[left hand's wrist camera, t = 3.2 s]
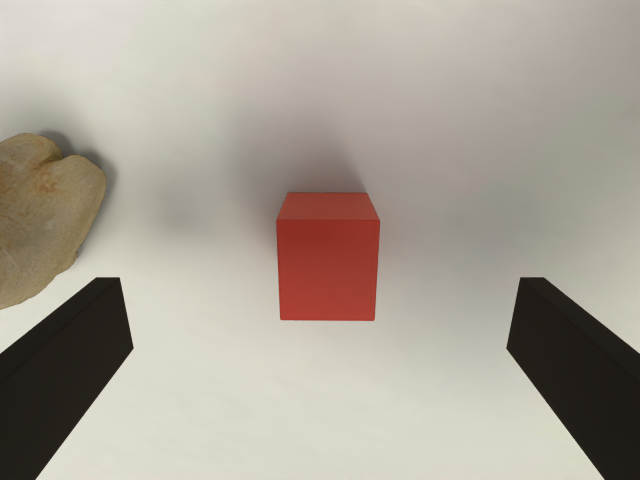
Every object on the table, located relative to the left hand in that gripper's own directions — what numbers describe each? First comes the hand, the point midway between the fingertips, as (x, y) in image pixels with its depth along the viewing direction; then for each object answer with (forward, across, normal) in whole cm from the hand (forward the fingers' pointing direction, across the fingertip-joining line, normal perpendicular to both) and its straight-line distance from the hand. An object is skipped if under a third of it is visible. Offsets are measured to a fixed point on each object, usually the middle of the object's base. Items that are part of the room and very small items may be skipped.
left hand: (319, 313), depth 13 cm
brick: (+8, 0, 0) cm, 8 cm away
